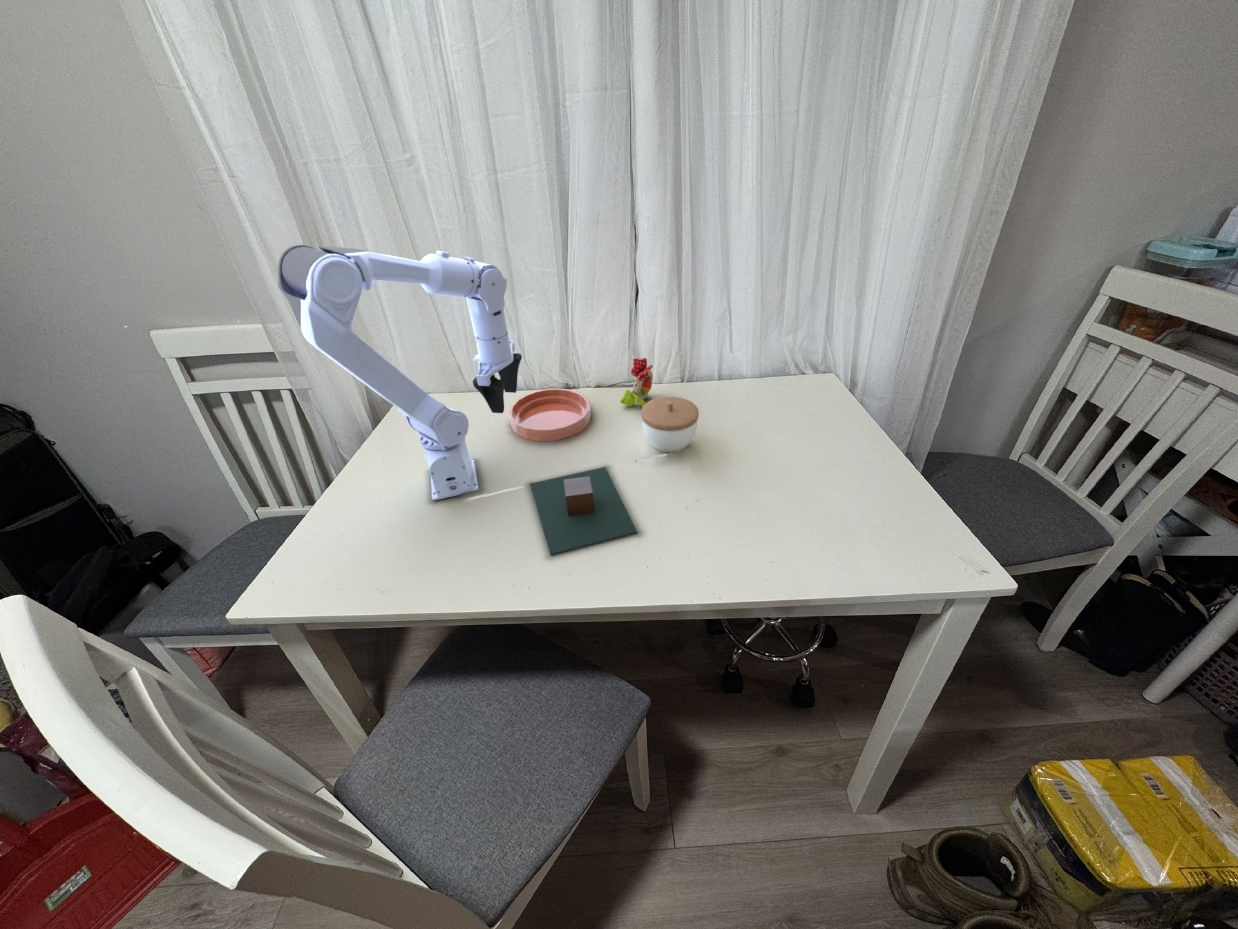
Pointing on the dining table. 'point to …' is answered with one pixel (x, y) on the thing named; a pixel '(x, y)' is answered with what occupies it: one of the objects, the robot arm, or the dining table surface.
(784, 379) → the dining table surface
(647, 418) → the trinket box
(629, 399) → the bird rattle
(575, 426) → the round pink tray
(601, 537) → the mat
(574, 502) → the block
